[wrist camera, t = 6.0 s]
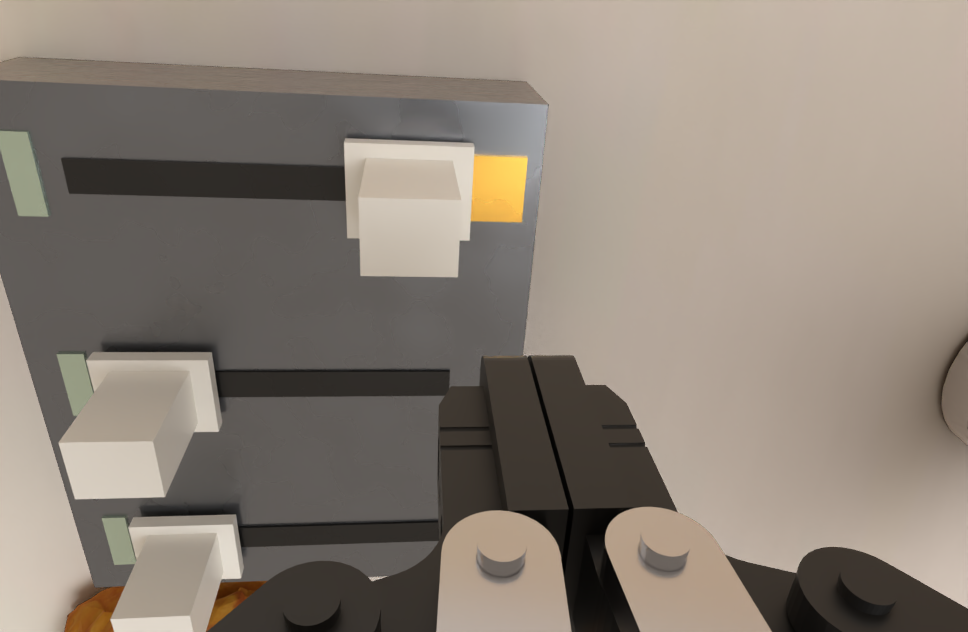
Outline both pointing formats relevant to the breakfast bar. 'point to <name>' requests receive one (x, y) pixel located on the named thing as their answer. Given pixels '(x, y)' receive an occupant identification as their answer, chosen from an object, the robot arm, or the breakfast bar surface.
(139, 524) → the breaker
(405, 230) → the block
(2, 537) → the breakfast bar surface
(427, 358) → the breaker panel
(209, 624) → the croissant
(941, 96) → the breakfast bar surface
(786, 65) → the breakfast bar surface
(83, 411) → the breaker middle
